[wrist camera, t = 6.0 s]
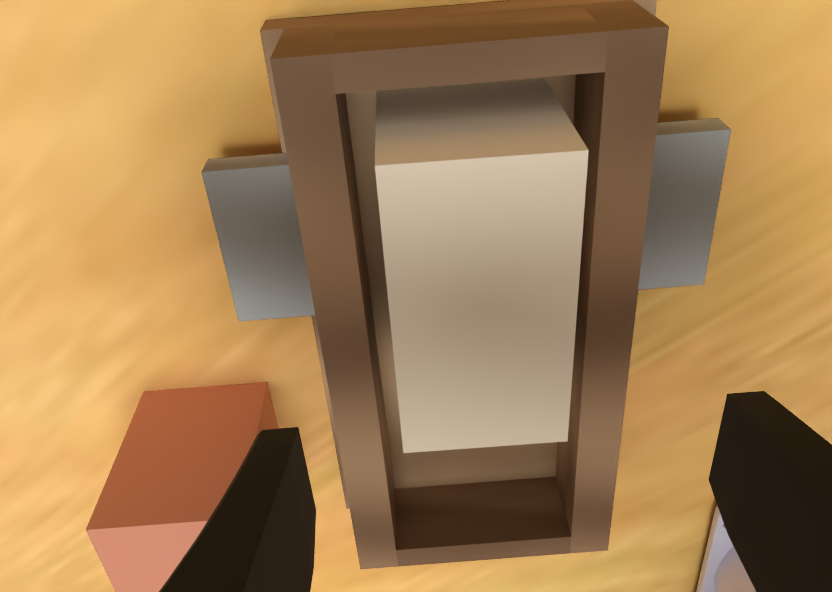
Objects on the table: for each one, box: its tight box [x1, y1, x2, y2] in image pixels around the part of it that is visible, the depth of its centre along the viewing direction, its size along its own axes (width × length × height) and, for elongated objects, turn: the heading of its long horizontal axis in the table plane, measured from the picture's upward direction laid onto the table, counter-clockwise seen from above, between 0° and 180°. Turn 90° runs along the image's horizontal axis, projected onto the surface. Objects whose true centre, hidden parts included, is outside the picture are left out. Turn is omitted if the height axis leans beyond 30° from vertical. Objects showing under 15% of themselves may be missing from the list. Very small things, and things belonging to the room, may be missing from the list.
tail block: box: [86, 382, 278, 592], centre depth 22 cm, size 4×4×6 cm
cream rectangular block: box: [375, 78, 589, 453], centre depth 18 cm, size 8×4×4 cm, turn 4°
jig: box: [202, 0, 731, 569], centre depth 20 cm, size 16×13×4 cm
